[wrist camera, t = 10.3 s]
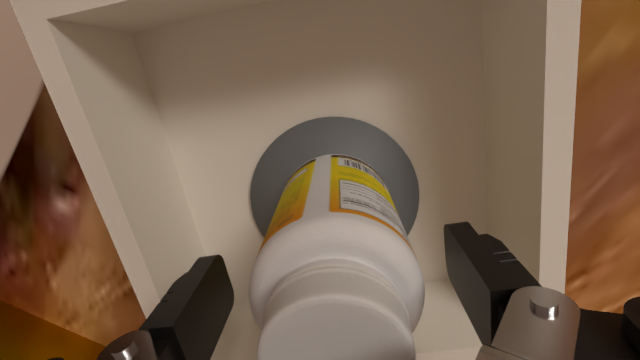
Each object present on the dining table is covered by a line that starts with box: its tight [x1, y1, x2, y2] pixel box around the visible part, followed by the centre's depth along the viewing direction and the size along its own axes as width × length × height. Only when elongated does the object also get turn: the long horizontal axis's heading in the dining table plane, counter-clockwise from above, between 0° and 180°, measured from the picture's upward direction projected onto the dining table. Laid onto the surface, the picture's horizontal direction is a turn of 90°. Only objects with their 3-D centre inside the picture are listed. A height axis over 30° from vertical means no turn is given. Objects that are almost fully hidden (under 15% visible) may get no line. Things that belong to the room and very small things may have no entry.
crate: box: [9, 0, 581, 360], centre depth 15 cm, size 18×18×6 cm
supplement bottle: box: [249, 154, 425, 360], centre depth 13 cm, size 6×6×10 cm
